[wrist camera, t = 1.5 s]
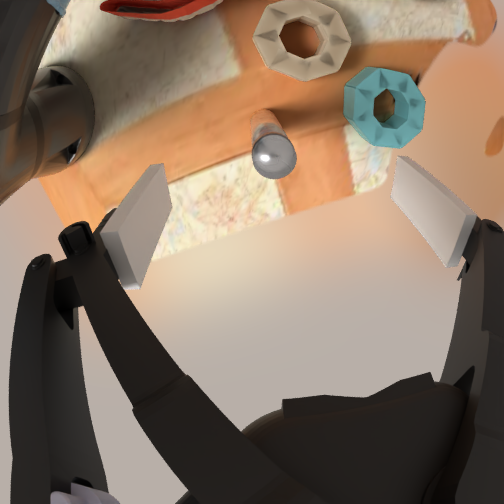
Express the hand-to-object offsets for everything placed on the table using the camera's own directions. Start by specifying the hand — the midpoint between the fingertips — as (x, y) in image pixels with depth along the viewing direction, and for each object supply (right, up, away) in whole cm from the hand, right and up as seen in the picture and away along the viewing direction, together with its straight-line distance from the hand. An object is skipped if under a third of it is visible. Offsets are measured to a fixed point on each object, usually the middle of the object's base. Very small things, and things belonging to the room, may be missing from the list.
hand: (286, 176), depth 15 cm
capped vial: (-1, +11, +15) cm, 19 cm away
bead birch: (+3, +19, +9) cm, 21 cm away
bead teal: (+13, +14, +13) cm, 23 cm away
